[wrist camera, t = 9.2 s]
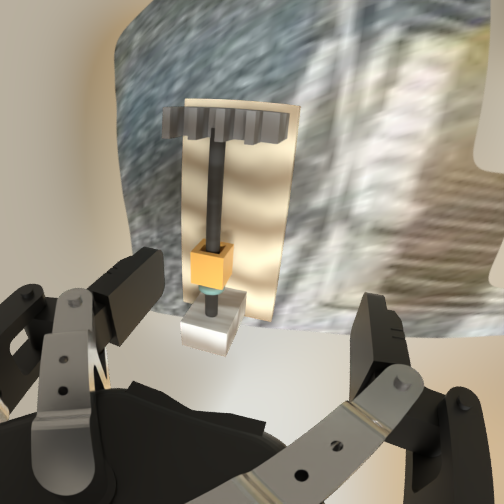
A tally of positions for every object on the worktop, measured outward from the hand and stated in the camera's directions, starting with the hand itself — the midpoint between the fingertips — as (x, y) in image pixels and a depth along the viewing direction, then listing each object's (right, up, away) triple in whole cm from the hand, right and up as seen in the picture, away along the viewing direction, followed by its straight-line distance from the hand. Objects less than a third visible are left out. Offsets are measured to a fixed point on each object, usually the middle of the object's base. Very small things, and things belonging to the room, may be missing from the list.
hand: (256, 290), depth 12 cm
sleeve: (-4, +1, +25) cm, 26 cm away
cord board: (-3, +6, +29) cm, 30 cm away
